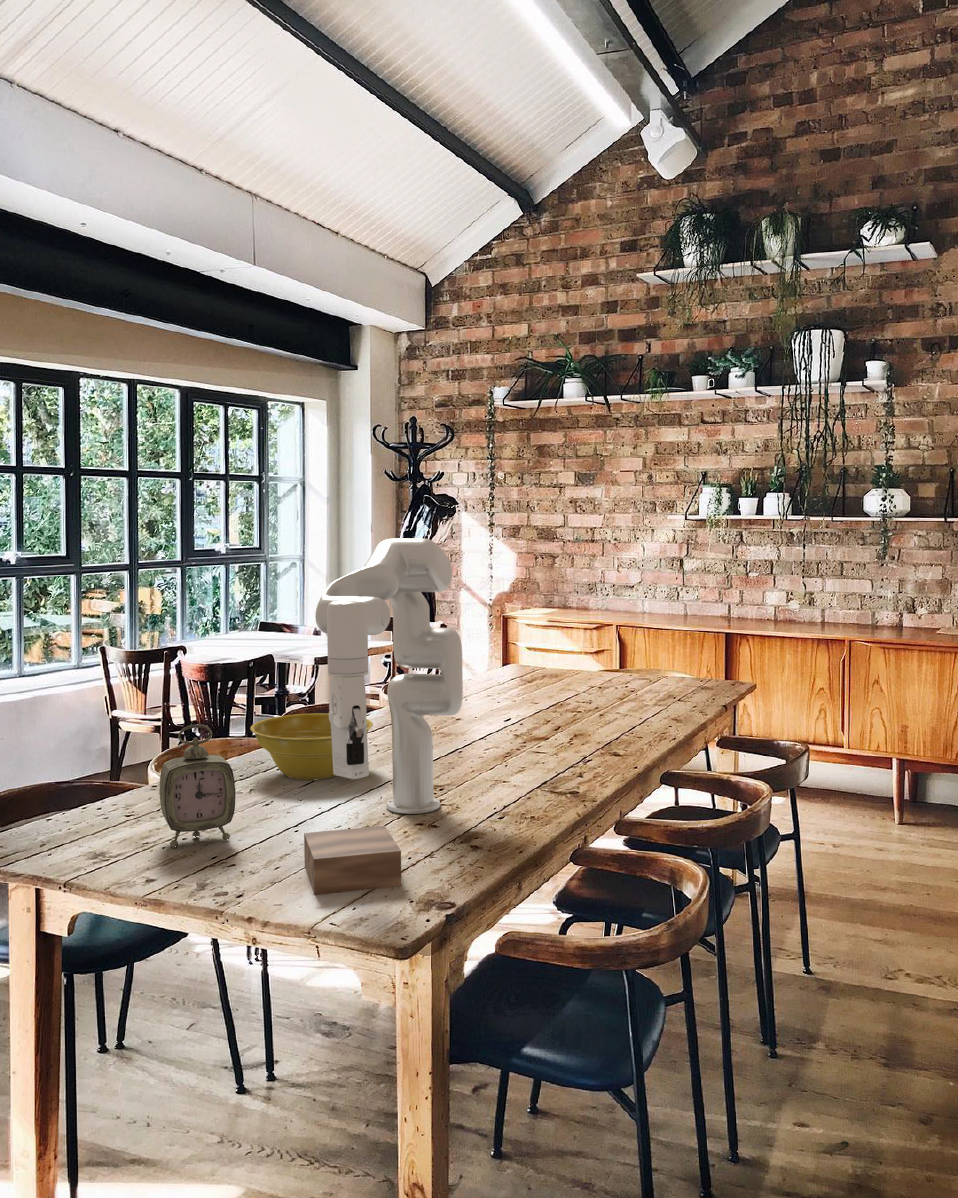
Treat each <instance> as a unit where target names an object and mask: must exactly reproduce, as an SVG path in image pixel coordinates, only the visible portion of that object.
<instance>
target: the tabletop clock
mask: <svg viewBox="0 0 958 1198" xmlns="http://www.w3.org/2000/svg"><path fill="white" fill-rule="evenodd" d="M198 728H202V729H206V730H207V731H208V732H209V736H208V737H207V738H204V739H202V740H199V738H198V737H193V738H192V741H188V740H184V739H182V738H181V737H182V734H183V733H184V732H185V731H187V730H189V729H198ZM212 736H213V731H212V730H211V728H210V727H209V726H207V725H205V724H190V725H187V726H185V727H183V728H182V729H181V730H180V731H179V733H178V736H177V738H178V740H179V741H180V743H182V744H184V745H188V746H189V747H187V748H186V749H185V750H184V752H183V755H182V756H181V757H176V758H172V759H170V760H168V761H165V762H164V763H163V765H162V767H161V770H160V775H159V790H158V791H159V800H160V801H159V802H160V809H161V813H162V816H163V818H164V820H165V822H166V824H167V825H168V827H169V829H170V830H171V831H174V832H175V835H174V838H173V839H172V840H171V841H170V843H169V845H170V847H171V848H172V847H175V846H177V845H179V841H178V839H179V836H180V834H181V833H186V832H190V833H192V836H191V837H193V836H195V837H196V836H199V837H200V836H201V832H203V831H207V830H212V829H217V828H218V829H219V831H220V832H221V834H222V836H221V838H222V840H223V839H224V841H225V840H226V841H228V840H230V837H231V834H230V833H228V832H225V829H224V827H223V826H226V825H228V824H230V823H231V822H232V820H233V818H234V814H235V810H236V809H235V808H236V795H237V793H236V783H235V781H236V780H235V775H234V772H233V769H232V766H231V764H230V763H229V762H228V761H227V760H226V759H225V758H224V757H223V756H220V755H216V754H209V752H208V751H207V750H206V748H205V747H204V746H202V745H203V744H205V743H207V742H208V741H209V740H211V739H212V738H213V737H212ZM201 744H202V745H201ZM227 839H228V840H227ZM175 848H176V847H175Z"/></svg>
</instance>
